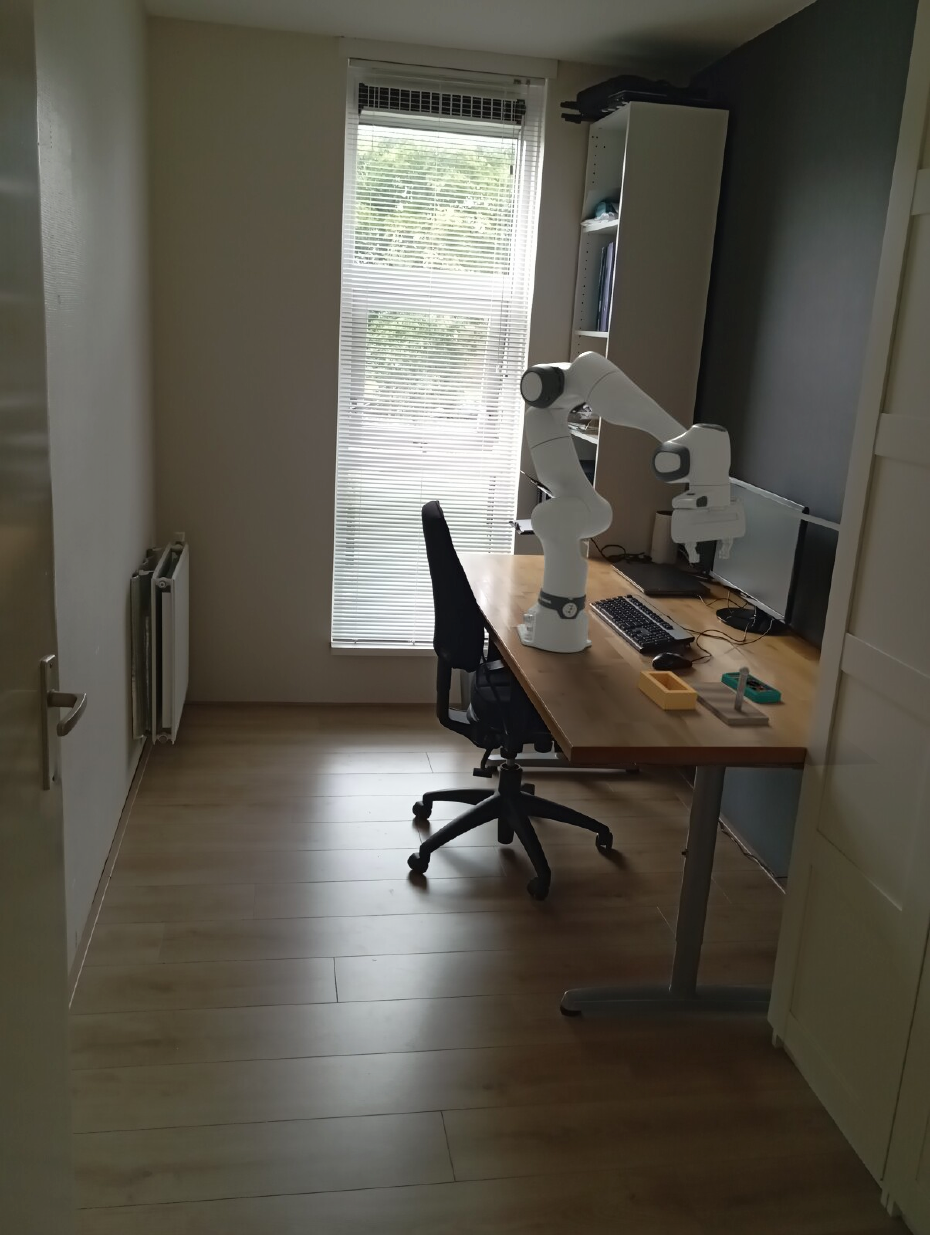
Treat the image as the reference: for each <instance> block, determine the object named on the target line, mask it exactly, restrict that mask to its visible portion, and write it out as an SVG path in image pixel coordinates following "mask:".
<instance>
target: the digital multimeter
mask: <svg viewBox="0 0 930 1235" xmlns="http://www.w3.org/2000/svg"><path fill="white" fill-rule="evenodd" d="M739 677H740V673H739V671H736V672H735V671H734V672H725V673H723V674H722V675H721V681H720V682H721V683H722V684H724V685H725V686H726V685H727V687H730V689H731V688H732V689H733V690H735V691H736V692H737V688H738V682H739ZM744 697H746V698H747V699H749V700H751V701H752V702H754V703H758V704H759V703H760V704H762V703H763V704H768V703H778V702H780V701H781V699H782V698H781V697H782V693H781V692H780V690H777V689H776V688H774V687H772V686H771V685H769V684H766V683H765V682H763V681H762V680H760V679H758V678H757V677H755V676H754V675H752V674H750V673H749V674H748V675H747V680H746V686H745V691H744Z"/></svg>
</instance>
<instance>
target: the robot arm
mask: <svg viewBox="0 0 930 1235" xmlns="http://www.w3.org/2000/svg"><path fill="white" fill-rule="evenodd" d="M519 390H520V391H519V392H520V395H521V398H522V400H523V401H524V402H525V403H526V404H527V405H528V406H530V407H529V408H527V410H526V412H525V413H524V419H523V420H524V428H525V429H524V430H525V435H526V441H527V445H528V448H529V452H530V456H531V459H532V464H533V467H534V469H535V473H536V476H537V479H538V481H539V482H540V483H541V484H542V485H543V486H545V487H546V488H547V489H548V490H549V491H550V492H551V494H552V495H553V497H552V498H549V499H546V500H544V501H542V502H539V503H538V504H537V505H536V506H535V507H534V508H533V510H532V513H531V516H530V525H531V528H532V531H533V533H534V535H535V536H536V537H537V538H538V539H539V541H540V544H541V546H542V550H543V558H544V566H543V575H542V576H543V577H542V586H541V588H540V591H539V592H538V596H537V597H538V598H537V602H536V603H535V604H534V605H533V606H532V607H530V608H529V609H528V610H527V613H524V614H523V616H522V622H523V623H521V624H517V626H516V631H517V633H518V636H519V638H520V641H521V643H522V645H524V646H528V647H533V648H537V649H541V650H545V651H549V652H556V653H578V652H581V651H583V650H585V648H587V647H590V646H592V640H591V639H588V633H589V632H588V631H589V614H588V613H587V612H586V610H585V608H586V605H587V594H586V589H587V582H588V581H587V580H588V573H589V564H588V562H587V561H586V559H584V558H583V556H582V553H581V546H580V542H581V539H588V538H593V537H596V536H597V535H600V534H602V533H603V532H605V531H607V530H608V529H609V528H610V526H611V525H612V522H613V518H614V517H613V514H614V513H613V509H612V506H611V504H610V502H609V501H608V500H607V499H605V498H604V497H602V496H601V494H599V493H598V492H597V491H596V489H595V488H594V486H593V485H592V483H591V482H590V481H589V479H588V476H586V474H585V471H584V469H583V468H582V465H581V463H580V460H579V457H578V456H579V455H578V453H577V451H576V448H575V444H574V440H573V438H572V434H571V432H570V428H569V424H568V417H569V414H575V415H576V414H578V413H579V412H581V410H582V409H583V408H584V407H586V406H588V407H589V408H590V409H591V410H592V411H593V412H594V413H595V414H596V415H597V416H599V417H600V418H601V419H603V420H605V421H606V422H608V423H610V424H612V425H615V426H616V425H617V426H623V427H629V428H634V429H637V430H640V431H641V430H642V431H644V432H646V433H648V434H650V435H652V436H653V437H654V438H655V439H657V440H658V441H660V443H659V444H657V445H656V446H655V448H654V450H653V452H652V454H651V456H650V457H651V458H650V467H651V470H652V473H653V476H655V478H656V479H658V481H660V482H662V483H668V484H677V483H678V484H683V483H689V486H688V487H689V490H686V491H684V492H683V493H681V494H680V495H679V494H678V495H677V496H675V497H674V498H673V499H672V500H671V506H672V508H674V509H673V512H672V514H671V522H670V524H671V526H670V534H671V535H670V536H671V539H672V541H673V542H674V543H676V544H678V543H679V544H684V548H685V550H686V552H687V554H688V561H689V563H692V564H693V563H694V564H695V563H699V562H700V554H699V553H698V552H697V551H696V547H697V543H699V542H707V541H717V540H721V543H722V547H721V549H720V550H718V554H719V555H718V558H719V559H723V560H725V559H729V558H730V551H731V549H732V547H733V544H734V539H735V538H743V537H744V535H745V533H746V531H747V528H746V513H745V509H744V507H743V506H744V505H743V504H744V503H743V501H742V500H741V498H740V497H739V496H738V495H735V496H734V495H733V496H731V479H730V475H729V474H730V473H729V471H730V467H731V459H732V458H731V457H732V456H731V442H730V435H729V433H728V430H727V429H726V428H725V427H723V425H719V424H714V423H706V422H705V423H702V422H701V423H696V424H693V425H691V427H690V428H688V426H685V425H684V424H683V423H682V422H681V421H679V420H678V419H677V418H676V417H675V416H674V415H673V414H671V413H670V412H669V411H668V410H666V409H665V408H664V407H663V406H661V405H660V404H659V403H657V401H655V400H654V399H653V398H651V396H649V395H648V394H647V393H646V392H644V391H643V389H641V388H640V387H639V386H638V385H637V384H636V383H634V382H633V381H632V380H631V379H630V378H629V377H628V375H626V374H625V373H624V371H622V370H621V369H620V368H619V367H618V366H617V365H615V363H613V362H612V361H611V360H609V359H608V358H606V357H605V356H603V355H602V354H600V353H598V352H596V351H586V352H583V353H581V354H579V355H578V356H577V357H575V359H574V360H573V362H562V361H561V362H555V363H540V364H535V365H532V366H531V367H528V368H527V369H526V370H525V371H524V372H523V374H522V376H521V378H520V382H519Z"/></svg>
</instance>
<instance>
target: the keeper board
mask: <svg viewBox="0 0 930 1235" xmlns="http://www.w3.org/2000/svg"><path fill="white" fill-rule="evenodd" d="M738 672H739V673H740V677H739V682H738V688H737V691H736V692H735V691H733V690H732V689H731V688H729V686H726V684H724V683H723V682H721V681H719V682H715V681H714V682H713V681H712V682H710V681H709V682H705V681H703V682H700V681H699V682H690V681H689V682H686V681H684V682H685V683H686V684H688V685H689V686H690V687H691V688H693V689H694V690H695V691H696V692H698V694H697V700H696V702H698V703H699V704H700V705H702V706H703V707H704V708H706V709H707V710H708V711H709V712H710V711H711V712H710V713H711V714H713V713H714V714H715V715H717V716H718V717H717V716H716V717H717V718H718V719H719V718H720V719H721V720H720V719H719V720H720V721H721V722H723V721H724V722H725V723H726V725H727V726H740V725H741V726H742V725H748V726H749V725H769V721H770V717H768V716H767V715H766V714H765V713H763V712H762V711H760V710H759V709H758V708H756V707H755V706H754V705H753V704H751V703H749V701H747V700H746V699H744V698H745V696H744V691H745V686H746V680H747V675H748V674H750V669H749V668H748V667H747V666H746V665H745V666H741V667H740V668H739V671H738ZM714 714H713V715H714ZM715 715H714V716H715ZM724 722H723V723H724ZM725 723H724V724H725Z"/></svg>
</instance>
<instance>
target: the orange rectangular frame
mask: <svg viewBox="0 0 930 1235" xmlns="http://www.w3.org/2000/svg"><path fill="white" fill-rule="evenodd" d="M685 682H686V681H684V680H683V679H681V678H680V677H679V676H677V675H676V674H675V673H673V671H670V670H666V671H665V670H654V671H653V670H651V671H649V670H642V671H641V670H639V678H638V683H637V689H639V690H640V691H641V692H642V693H644V694H645V696H647V697H648V698H649V699H650V700H652V701H653V702H654V703H655V704H656V705H658V706H659V707H660V709H662V710H663V711H665V709H666V710H668V709H669V710H696V706H697V694H698V692H696V691H695V690H694V689H693V688H691V687H690V686H689V685H688V684H686V683H685Z"/></svg>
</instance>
